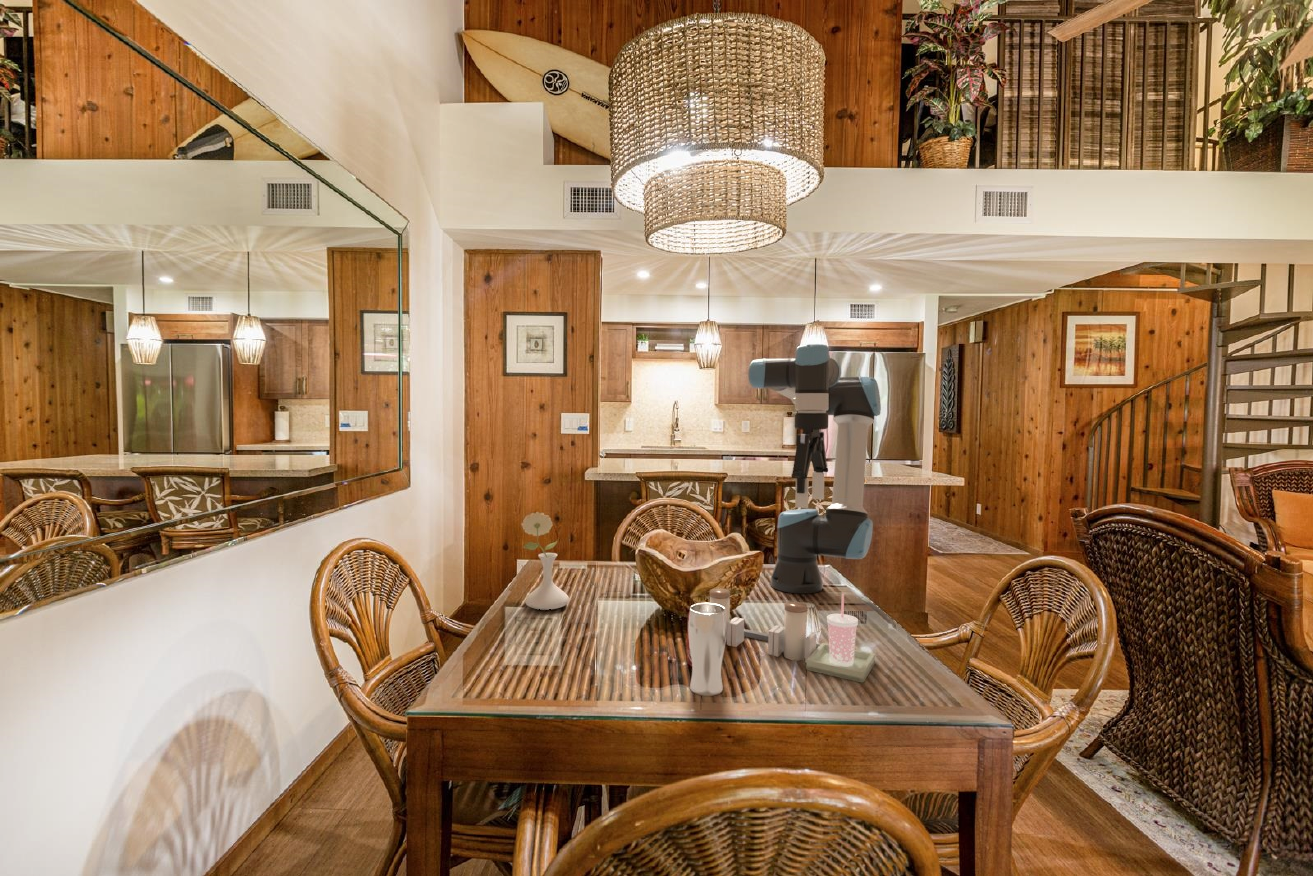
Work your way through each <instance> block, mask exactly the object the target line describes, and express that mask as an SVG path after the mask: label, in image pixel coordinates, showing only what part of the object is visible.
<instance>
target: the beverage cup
mask: <svg viewBox="0 0 1313 876" xmlns="http://www.w3.org/2000/svg"><path fill="white" fill-rule="evenodd" d="M840 605H841V606H840V607H841V608H840V613H831V614H828V615H827V616H826V622H827V625H828V626H827V629H828V644H829V654H830V662H831V663H832V664H834V665H839V666H843V667H848V666H852V665H853V663H854V651H855V650H856V649H855V647H856V638H857V637H856V636H857V626H858V625H859V619H858V618H857V617H855V616H853V615H851V614H846V613H845V611H844V609H845V608H844V607H845V593H841V604H840Z"/></svg>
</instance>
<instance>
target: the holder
mask: <svg viewBox="0 0 1313 876" xmlns="http://www.w3.org/2000/svg"><path fill="white" fill-rule="evenodd" d="M817 636H818V635H817V632H813V631H812V632H811V633H810V634H809V635H808V636H806V639H805V659H804V663H805V664H806V660H807V659H808V658H809V657H810V655H811V654H812V653H813V652H814V651H815V650H816V649H817V648H818V647H819V646H820V645H821V644H818V643H817V638H818V637H817ZM745 638H750V639H753V640H759V641H764V642H767V644H768V645H767V655H769V656H774V657H779V656H780V655H781V654H783V653H784V626H781V625H776V624H775V626H773V627H771V628H770V629H769V630H768V633H767V632H760V631H757V630H756V631H755V630H752V629H746V628H745V618H740V617H733V618H732V619H730V621H729V622H727V642H726V645H727V646H730V647H734V648H737V647H738V646H739V645H741V644H742V643H743V642H744V641H745Z"/></svg>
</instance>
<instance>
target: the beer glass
mask: <svg viewBox="0 0 1313 876" xmlns="http://www.w3.org/2000/svg"><path fill="white" fill-rule="evenodd" d="M698 603H699V604H697V603H694V604H695V605H693V604H692V605H690V607H689V612H690V615H689V628H688V635H689V646H690V653H691V659H692V666H691V667H692V669H691V671H692V672H691V677H690V678H691V679H690V684H689V689H690V691H691V692H692V693H694V694H696V695H699V696H702V697H712V696H717V695H718V696H719V695H720V694H721V693H722V692H723V691H724V690H723V689H724V686H723V685H724V684H723V679H722V663H723V659H724V654H725V649H726V643H727V642H726V613H725V610H726V609H725V608H724V607H723V606H721V605H718V604H712V603H710V602H698ZM725 642H726V643H725Z"/></svg>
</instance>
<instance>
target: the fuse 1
mask: <svg viewBox="0 0 1313 876" xmlns="http://www.w3.org/2000/svg"><path fill="white" fill-rule="evenodd" d="M709 603H712V604H718V605H721V606H723V607H724V608H725V609H726V610H725V613H726V642H725V644H727V622H729V621H730V620H731V619H730V617H731V616H730V615H731V613H730V611H731V607H730V605H731V604H730V603H731V591H730V590H729V589H726V588H718V587H717V588H712V589H709Z"/></svg>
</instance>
